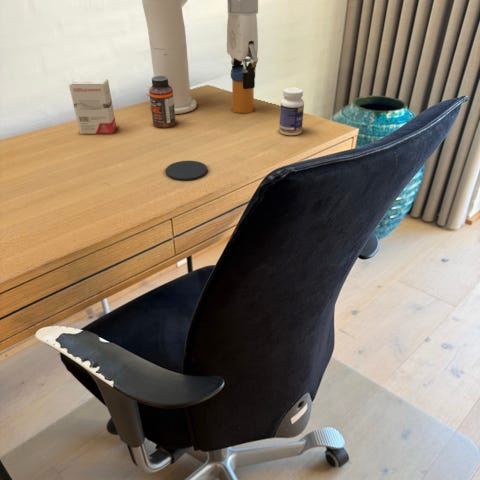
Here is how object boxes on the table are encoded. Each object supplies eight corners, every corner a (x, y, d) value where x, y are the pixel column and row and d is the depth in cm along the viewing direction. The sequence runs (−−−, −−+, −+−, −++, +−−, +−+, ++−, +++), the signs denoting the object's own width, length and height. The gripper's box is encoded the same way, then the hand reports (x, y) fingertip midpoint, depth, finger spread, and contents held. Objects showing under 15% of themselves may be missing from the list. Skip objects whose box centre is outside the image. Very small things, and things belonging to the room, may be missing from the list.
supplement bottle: (148, 125, 124) (142, 79, 116) (162, 118, 128) (157, 73, 120) (166, 130, 122) (161, 82, 114) (180, 122, 125) (176, 76, 118)
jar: (228, 111, 132) (227, 73, 125) (239, 105, 136) (239, 68, 129) (246, 114, 130) (246, 77, 123) (257, 108, 133) (257, 71, 127)
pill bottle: (300, 136, 117) (303, 94, 111) (277, 135, 118) (279, 92, 112) (302, 128, 122) (306, 86, 115) (280, 127, 123) (282, 85, 116)
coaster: (157, 174, 102) (157, 172, 102) (182, 159, 108) (182, 157, 108) (191, 184, 99) (190, 182, 98) (215, 168, 104) (215, 166, 104)
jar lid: (229, 81, 125) (229, 73, 124) (232, 74, 130) (232, 66, 128) (253, 81, 124) (254, 74, 123) (256, 74, 129) (256, 67, 128)
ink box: (117, 126, 124) (108, 77, 116) (113, 134, 120) (103, 83, 112) (84, 127, 124) (73, 78, 116) (79, 134, 120) (67, 84, 112)
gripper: (215, 2, 121) (218, 78, 133) (243, 13, 109) (243, 95, 121) (242, -1, 123) (242, 74, 135) (272, 10, 111) (269, 91, 123)
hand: (243, 84), depth 128 cm, fingers closed on jar lid, 6 cm apart
